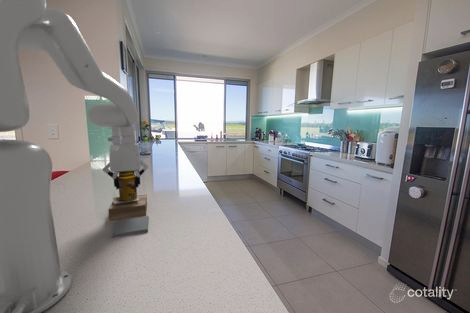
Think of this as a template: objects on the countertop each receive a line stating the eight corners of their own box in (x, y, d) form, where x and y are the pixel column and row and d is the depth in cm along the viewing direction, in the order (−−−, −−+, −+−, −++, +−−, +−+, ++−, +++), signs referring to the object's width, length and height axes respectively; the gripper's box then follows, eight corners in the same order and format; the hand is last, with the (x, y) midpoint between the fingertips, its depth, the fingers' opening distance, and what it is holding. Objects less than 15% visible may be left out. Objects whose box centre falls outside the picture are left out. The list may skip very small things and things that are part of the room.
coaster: (147, 231, 67) (147, 228, 67) (112, 237, 64) (112, 234, 63) (148, 218, 76) (148, 215, 76) (117, 222, 73) (117, 220, 73)
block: (146, 215, 79) (145, 205, 78) (109, 220, 74) (108, 209, 74) (147, 203, 90) (146, 194, 89) (115, 207, 86) (114, 197, 85)
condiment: (139, 200, 80) (137, 169, 78) (114, 204, 75) (111, 172, 73) (136, 194, 86) (134, 166, 84) (112, 198, 81) (110, 168, 79)
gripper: (94, 142, 71) (99, 193, 74) (149, 140, 77) (151, 188, 80) (99, 140, 78) (104, 186, 81) (149, 139, 84) (152, 182, 87)
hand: (127, 186), depth 80 cm, fingers closed on condiment, 6 cm apart
